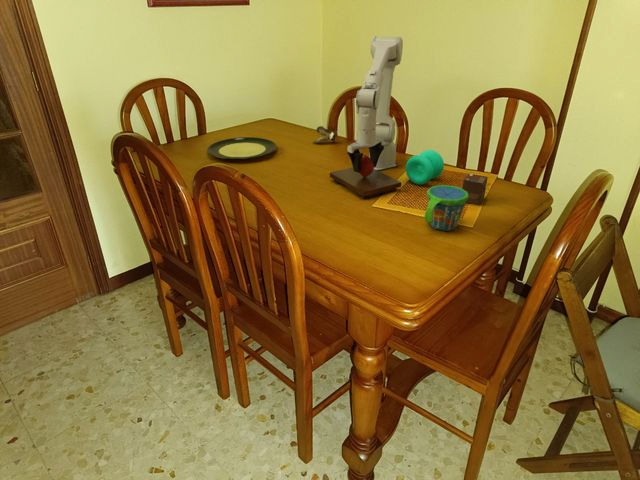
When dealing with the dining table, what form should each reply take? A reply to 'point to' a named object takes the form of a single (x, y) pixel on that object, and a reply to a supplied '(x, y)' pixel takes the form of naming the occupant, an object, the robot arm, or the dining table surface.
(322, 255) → the dining table surface
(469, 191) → the box
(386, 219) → the dining table surface
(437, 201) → the snack cup
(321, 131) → the eagle figurine
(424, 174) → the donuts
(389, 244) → the dining table surface
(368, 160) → the onion
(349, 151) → the robot arm
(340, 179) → the platform
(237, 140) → the plate
